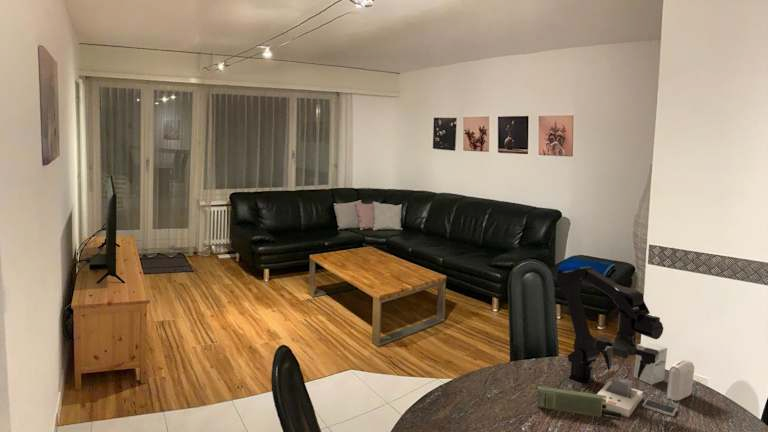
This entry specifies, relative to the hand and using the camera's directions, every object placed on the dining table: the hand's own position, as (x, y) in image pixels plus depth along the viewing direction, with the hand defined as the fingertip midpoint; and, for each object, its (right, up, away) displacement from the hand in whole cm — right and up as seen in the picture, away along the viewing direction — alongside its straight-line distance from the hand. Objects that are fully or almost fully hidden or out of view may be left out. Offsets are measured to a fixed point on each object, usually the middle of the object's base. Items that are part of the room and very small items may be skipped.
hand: (623, 373), depth 171 cm
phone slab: (+9, -10, -5) cm, 14 cm away
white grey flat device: (-3, -9, -1) cm, 9 cm away
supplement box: (+17, -7, +16) cm, 24 cm away
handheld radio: (-18, -10, -8) cm, 22 cm away
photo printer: (+20, -9, +4) cm, 23 cm away
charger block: (0, -8, +2) cm, 8 cm away
